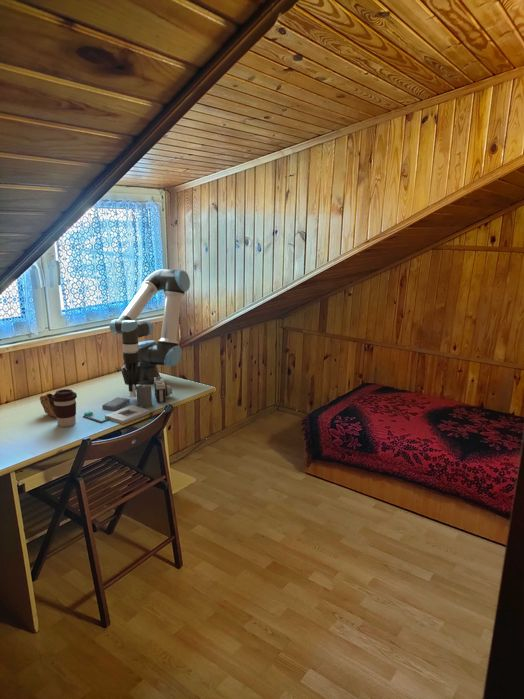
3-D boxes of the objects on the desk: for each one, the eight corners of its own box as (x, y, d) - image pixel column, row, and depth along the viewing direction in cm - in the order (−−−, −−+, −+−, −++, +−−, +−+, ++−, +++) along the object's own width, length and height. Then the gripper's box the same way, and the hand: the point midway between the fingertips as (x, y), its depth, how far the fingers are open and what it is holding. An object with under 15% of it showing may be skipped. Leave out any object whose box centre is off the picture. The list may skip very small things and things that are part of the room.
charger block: (144, 403, 231) (143, 383, 228) (152, 405, 228) (151, 385, 226) (137, 405, 227) (136, 386, 224) (144, 408, 224) (143, 387, 222)
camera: (173, 401, 233) (172, 382, 231) (156, 403, 231) (155, 384, 228) (169, 393, 246) (169, 375, 244) (154, 394, 244) (153, 376, 241)
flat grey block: (117, 401, 233) (117, 396, 233) (129, 403, 231) (129, 398, 230) (102, 409, 222) (102, 404, 222) (115, 411, 220) (114, 406, 219)
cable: (90, 413, 216) (90, 410, 215) (109, 419, 209) (109, 416, 208) (82, 416, 212) (81, 413, 211) (101, 423, 205) (101, 420, 204)
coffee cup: (79, 418, 209) (76, 387, 206) (78, 426, 200) (76, 393, 197) (55, 421, 206) (52, 389, 203) (53, 429, 197) (50, 396, 194)
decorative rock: (39, 415, 213) (37, 392, 211) (51, 411, 218) (49, 389, 216) (58, 419, 208) (55, 397, 205) (69, 415, 213) (67, 393, 211)
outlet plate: (132, 408, 223) (132, 405, 223) (150, 413, 217) (149, 410, 217) (105, 418, 210) (104, 415, 210) (123, 424, 204) (122, 420, 204)
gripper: (135, 348, 237) (137, 392, 242) (115, 352, 226) (117, 398, 231) (146, 350, 233) (147, 395, 238) (125, 355, 222) (128, 401, 227)
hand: (132, 396), depth 235 cm, fingers closed
